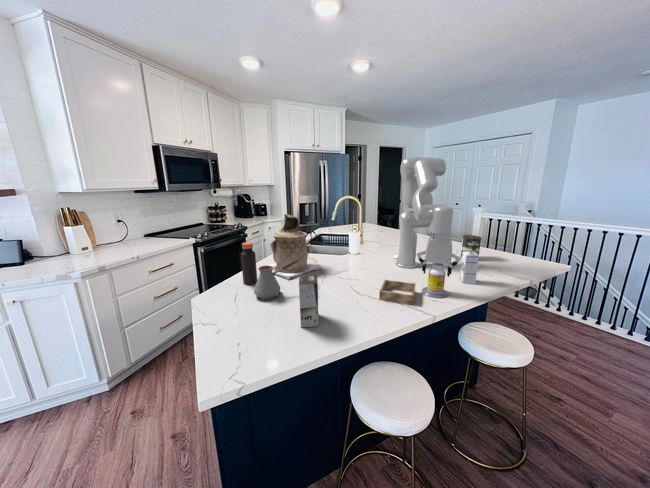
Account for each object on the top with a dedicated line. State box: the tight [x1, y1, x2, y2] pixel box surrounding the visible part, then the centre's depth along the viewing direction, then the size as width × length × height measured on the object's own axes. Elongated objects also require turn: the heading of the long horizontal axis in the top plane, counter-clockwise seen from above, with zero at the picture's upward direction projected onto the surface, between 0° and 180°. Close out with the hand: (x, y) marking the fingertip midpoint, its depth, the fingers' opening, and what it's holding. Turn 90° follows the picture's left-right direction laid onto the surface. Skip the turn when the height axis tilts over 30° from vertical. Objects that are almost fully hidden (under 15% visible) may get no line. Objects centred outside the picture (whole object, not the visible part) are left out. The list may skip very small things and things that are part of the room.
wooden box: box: [378, 279, 416, 306], centre depth 111 cm, size 13×13×4 cm
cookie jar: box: [266, 213, 320, 281], centre depth 143 cm, size 25×25×32 cm
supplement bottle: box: [426, 262, 446, 294], centre depth 113 cm, size 7×7×13 cm
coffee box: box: [298, 273, 319, 328], centre depth 91 cm, size 9×6×16 cm
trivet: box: [421, 286, 450, 299], centre depth 114 cm, size 11×11×1 cm
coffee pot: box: [253, 259, 301, 300], centre depth 113 cm, size 21×12×15 cm, turn 109°
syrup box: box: [459, 252, 480, 285], centre depth 125 cm, size 6×6×14 cm
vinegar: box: [240, 241, 258, 286], centre depth 126 cm, size 7×7×20 cm
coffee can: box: [459, 234, 482, 260], centre depth 161 cm, size 10×10×14 cm
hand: (436, 274), depth 113 cm, fingers open, 9 cm apart
